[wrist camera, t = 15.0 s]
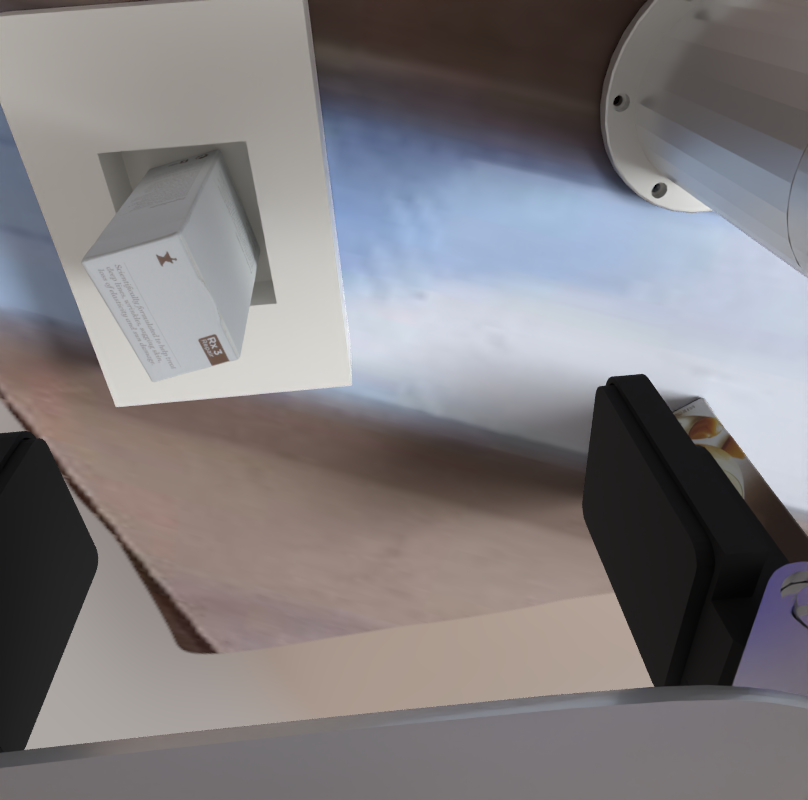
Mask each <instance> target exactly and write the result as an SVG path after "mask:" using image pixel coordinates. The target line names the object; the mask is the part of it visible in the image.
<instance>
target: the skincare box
mask: <svg viewBox="0 0 808 800" xmlns="http://www.w3.org/2000/svg"><path fill="white" fill-rule="evenodd" d="M259 255H260V247H259V245H258V242H257V240H256V237H255V235H254V232H253V230H252V227H251V225H250V222H249V220H248V217H247V215H246V212H245V210H244V207H243V205H242V202H241V200H240V197H239V195H238V192H237V190H236V187H235V185H234V182H233V180H232V177H231V175H230V172H229V170H228V167H227V165H226V162H225V160H224V157H223V155H222V153H221V151H220V150H213V151H210V152H206V153H203V154H199V155H195V156H192V157H189V158H185V159H182V160H178V161H175V162H171V163H168V164H165V165H161V166H158V167H155V168H152V169H149V170H148V172H147V173H146V175H145V176H144V177H143V179H142V180H141V181H140V183H139V184H138V185H137V186H136V188H135V189H134V191H133V192H132V193H131V195H130V196H129V197H128V198H127V200H126V201H125V202H124V204H123V205H122V207H121V208H120V209H119V211H118V212H117V213H116V215H115V216H114V217H113V219H112V220H111V221H110V223H109V224H108V225H107V227H106V228H105V229H104V231H103V232H102V233H101V235H100V236H99V237H98V239H97V240H96V242H95V243H94V245H93V246H92V247H91V248H90V249H89V251H88V252H87V253H86V255H85V256H84V257H83V259H82V261H81V264H82V265H83V267H84V269H85V270H86V272H87V274H88V275H89V277H90V279H91V280H92V282H93V283H94V285H95V287H96V288H97V290H98V292H99V293H100V295H101V297H102V298H103V300H104V302H105V303H106V305H107V307H108V308H109V310H110V312H111V313H112V315H113V317H114V318H115V320H116V322H117V323H118V325H119V327H120V328H121V330H122V332H123V333H124V335H125V337H126V338H127V340H128V342H129V343H130V345H131V347H132V348H133V350H134V352H135V354H136V355H137V357H138V359H139V360H140V362H141V364H142V365H143V367H144V369H145V370H146V372H147V374H148V375H149V377H150V379H151V381H152V382H157V381H161V380H164V379H168V378H171V377H175V376H178V375H182V374H185V373H189V372H193V371H197V370H200V369H204V368H208V367H211V366H215V365H219V364H223V363H226V362H230V361H234V360H238V359H239V358H240V355H241V350H242V344H243V339H244V334H245V328H246V324H247V318H248V313H249V307H250V302H251V297H252V292H253V287H254V281H255V276H256V270H257V266H258V260H259Z"/></svg>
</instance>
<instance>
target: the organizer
mask: <svg viewBox="0 0 808 800" xmlns="http://www.w3.org/2000/svg"><path fill="white" fill-rule="evenodd" d="M0 103H1V106H2V108H3V111H4V114H5V116H6V119H7V122H8V124H9V127H10V129H11V132H12V135H13V137H14V140H15V143H16V145H17V148H18V151H19V153H20V156H21V158H22V161H23V164H24V166H25V169H26V172H27V174H28V177H29V179H30V182H31V185H32V187H33V190H34V193H35V195H36V198H37V201H38V203H39V206H40V208H41V211H42V214H43V216H44V219H45V222H46V224H47V227H48V229H49V232H50V235H51V237H52V240H53V243H54V245H55V248H56V250H57V253H58V256H59V258H60V261H61V264H62V266H63V269H64V272H65V274H66V277H67V279H68V282H69V285H70V287H71V290H72V293H73V295H74V298H75V300H76V303H77V306H78V308H79V311H80V314H81V316H82V319H83V322H84V324H85V327H86V329H87V332H88V335H89V337H90V340H91V343H92V345H93V348H94V350H95V353H96V356H97V358H98V361H99V364H100V366H101V369H102V371H103V374H104V377H105V379H106V382H107V385H108V387H109V390H110V393H111V395H112V398H113V400H114V403H115V406H116V407H123V406H134V405H145V404H156V403H166V402H177V401H188V400H199V399H210V398H221V397H232V396H243V395H253V394H264V393H275V392H286V391H297V390H308V389H319V388H330V387H340V386H351V385H352V352H351V344H350V336H349V327H348V319H347V311H346V303H345V295H344V287H343V279H342V271H341V263H340V255H339V247H338V239H337V231H336V223H335V215H334V207H333V199H332V191H331V183H330V175H329V167H328V159H327V151H326V143H325V135H324V127H323V119H322V110H321V102H320V94H319V86H318V78H317V70H316V62H315V54H314V46H313V38H312V30H311V22H310V14H309V6H308V0H150V1H137V2H124V3H111V4H98V5H85V6H72V7H59V8H46V9H33V10H20V11H8V12H3V13H0ZM213 150H220V151H221V153H222V155H223V157H224V160H225V162H226V165H227V167H228V170H229V172H230V175H231V177H232V180H233V182H234V185H235V187H236V190H237V192H238V195H239V197H240V200H241V202H242V205H243V207H244V210H245V212H246V215H247V217H248V220H249V222H250V225H251V227H252V230H253V232H254V235H255V237H256V240H257V242H258V245H259V247H260V255H259V260H258V266H257V270H256V276H255V281H254V287H253V292H252V297H251V302H250V307H249V313H248V318H247V324H246V328H245V334H244V339H243V344H242V350H241V355H240V358H239V359H238V360H234V361H230V362H226V363H223V364H219V365H215V366H211V367H208V368H204V369H200V370H197V371H193V372H189V373H185V374H182V375H178V376H175V377H171V378H168V379H164V380H161V381H157V382H152V381H151V379H150V377H149V375H148V374H147V372H146V370H145V369H144V367H143V365H142V364H141V362H140V360H139V359H138V357H137V355H136V354H135V352H134V350H133V348H132V347H131V345H130V343H129V342H128V340H127V338H126V337H125V335H124V333H123V332H122V330H121V328H120V327H119V325H118V323H117V322H116V320H115V318H114V317H113V315H112V313H111V312H110V310H109V308H108V307H107V305H106V303H105V302H104V300H103V298H102V297H101V295H100V293H99V292H98V290H97V288H96V287H95V285H94V283H93V282H92V280H91V279H90V277H89V275H88V274H87V272H86V270H85V269H84V267H83V265H82V264H81V261H82V259H83V257H84V256H85V255H86V253H87V252H88V251H89V249H90V248H91V247H92V246H93V245H94V243H95V242H96V240H97V239H98V237H99V236H100V235H101V233H102V232H103V231H104V229H105V228H106V227H107V225H108V224H109V223H110V221H111V220H112V219H113V217H114V216H115V215H116V213H117V212H118V211H119V209H120V208H121V207H122V205H123V204H124V202H125V201H126V200H127V198H128V197H129V196H130V195H131V193H132V192H133V191H134V189H135V188H136V186H137V185H138V184H139V183H140V181H141V180H142V179H143V177H144V176H145V175H146V173H147V172H148V170H149V169H152V168H155V167H158V166H161V165H165V164H168V163H171V162H175V161H178V160H182V159H185V158H189V157H192V156H195V155H199V154H203V153H206V152H210V151H213Z"/></svg>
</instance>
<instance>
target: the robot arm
mask: <svg viewBox="0 0 808 800" xmlns="http://www.w3.org/2000/svg"><path fill="white" fill-rule="evenodd" d="M618 95H619V96H620V100H619V102H618V103H617V104H615V105H613V102H614V99H615V98H616V97H617V96H618ZM600 117H601V133H602V137H603V141H604V146H605V150H606V153H607V155H608V157H609V159H610V161H611V163H612V166H613V168H614V170H615V171H616V172H617V174H618V175H619V176H620V177H621V179H622V180H623V181H624V183H625V184H626V185H627V186H628V187H630V188H631V189H632V190H633V191H634V192H635V193H636V194H637V195H639V196H640V197H642V198H643V199H645V200H646V201H648V202H649V203H651V204H653V205H656V206H659V207H662V208H665V209H667V210H670V211H676V212H686V213H699V212H710V211H714V212H716V213H717V214H718V215H720V216H721V217H723V218H724V219H725V220H727V221H728V222H730V223H731V224H732V225H734V226H735V227H737V228H738V229H739V230H741V231H742V232H744V233H745V234H746V235H748V236H749V237H751V238H752V239H753V240H755V241H756V242H758V243H759V244H760V245H762V246H763V247H765V248H766V249H767V250H769V251H770V252H772V253H773V254H774V255H776V256H777V257H779V258H780V259H781V260H783V261H784V262H786V263H787V264H788V265H790V266H791V267H793V268H794V269H795V270H797V271H798V272H800V273H801V274H802V275H804V276H805V277H807V278H808V0H648V1H647V2H646V3H645V4H644V5H643V6H642V7H641V8H640V9H639V11H638V12H637V14H636V15H635V17H634V18H633V19H632V21H631V22H630V24H629V25H628V27H627V28H626V30H625V31H624V33H623V35H622V37H621V39H620V41H619V43H618V45H617V47H616V49H615V51H614V53H613V55H612V57H611V60H610V64H609V67H608V70H607V73H606V76H605V80H604V84H603V91H602V98H601V105H600ZM656 184H657V187H656V188H655V189H653V187H654V186H655V185H656ZM652 189H653V190H652ZM582 508H583V515H584V519H585V522H586V525H587V527H588V530H589V532H590V534H591V537H592V539H593V542H594V544H595V546H596V549H597V551H598V554H599V556H600V558H601V561H602V563H603V566H604V568H605V570H606V573H607V575H608V578H609V580H610V582H611V585H612V587H613V590H614V592H615V594H616V597H617V599H618V602H619V604H620V606H621V609H622V611H623V613H624V616H625V618H626V621H627V623H628V625H629V628H630V630H631V633H632V635H633V637H634V640H635V642H636V645H637V647H638V649H639V652H640V654H641V657H642V659H643V661H644V664H645V666H646V669H647V671H648V673H649V676H650V678H651V681H652V683H653V684H654V687H647V688H634V689H622V690H610V691H597V692H586V693H573V694H561V695H549V696H539V697H528V698H519V699H508V700H498V701H488V702H478V703H468V704H458V705H447V706H437V707H427V708H417V709H407V710H397V711H388V712H378V713H367V714H358V715H349V716H338V717H329V718H319V719H309V720H300V721H291V722H281V723H271V724H261V725H252V726H242V727H233V728H223V729H214V730H205V731H195V732H186V733H177V734H167V735H158V736H149V737H139V738H130V739H121V740H113V741H103V742H94V743H85V744H76V745H66V746H58V747H49V748H40V749H30V750H24V749H25V747H26V745H27V742H28V740H29V737H30V735H31V732H32V730H33V727H34V725H35V722H36V719H37V717H38V714H39V712H40V710H41V707H42V705H43V702H44V700H45V697H46V695H47V692H48V690H49V687H50V685H51V682H52V680H53V677H54V675H55V672H56V670H57V668H58V665H59V662H60V660H61V657H62V655H63V652H64V650H65V648H66V645H67V643H68V640H69V637H70V635H71V633H72V630H73V628H74V625H75V622H76V620H77V617H78V615H79V613H80V610H81V608H82V605H83V603H84V600H85V598H86V595H87V593H88V590H89V587H90V585H91V583H92V580H93V578H94V575H95V573H96V570H97V566H98V553H97V549H96V547H95V545H94V542H93V540H92V538H91V536H90V534H89V532H88V530H87V528H86V525H85V523H84V521H83V519H82V517H81V515H80V513H79V511H78V508H77V506H76V504H75V502H74V500H73V498H72V496H71V494H70V491H69V489H68V487H67V485H66V483H65V481H64V479H63V477H62V475H61V472H60V470H59V468H58V466H57V464H56V462H55V460H54V458H53V455H52V453H51V451H50V449H49V447H48V445H47V443H46V442H45V441H44V440H43V439H40V438H38V439H36V437H35V436H34V435H33V434H32V433H31V432H28V431H21V432H10V433H0V800H808V562H796V563H791V564H790V562H789V561H788V560H787V558H786V557H785V555H784V554H783V553H782V551H781V550H780V549H779V547H778V546H777V544H776V543H775V542H774V540H773V539H772V537H771V536H770V535H769V533H768V532H767V531H766V529H765V528H764V526H763V525H762V524H761V522H760V521H759V520H758V518H757V517H756V515H755V514H754V513H753V511H752V510H751V508H750V507H749V506H748V504H747V503H746V502H745V500H744V499H743V497H742V496H741V495H740V493H739V492H738V490H737V489H736V488H735V486H734V485H733V484H732V482H731V481H730V479H729V478H728V477H727V475H726V474H725V472H724V471H723V470H722V468H721V467H720V466H719V464H718V463H717V461H716V460H715V459H714V457H713V456H712V455H711V453H710V452H709V451H708V450H707V449H706V448H705V447H703V446H701V445H695V444H694V442H693V441H692V440H691V438H690V437H689V435H688V434H687V433H686V431H685V430H684V428H683V427H682V425H681V424H680V423H679V421H678V420H677V418H676V417H675V415H674V414H673V413H672V411H671V410H670V408H669V407H668V406H667V404H666V403H665V401H664V400H663V398H662V397H661V396H660V394H659V393H658V391H657V390H656V389H655V387H654V386H653V384H652V383H651V381H650V380H649V379H648V377H647V376H646V375H644V374H637V375H626V376H615V377H610V378H609V379H608V381H607V383H606V386H599V387H598V388H597V391H596V396H595V404H594V412H593V420H592V428H591V436H590V444H589V452H588V460H587V468H586V476H585V484H584V492H583V501H582Z"/></svg>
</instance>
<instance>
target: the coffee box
mask: <svg viewBox="0 0 808 800" xmlns="http://www.w3.org/2000/svg"><path fill="white" fill-rule="evenodd" d="M673 414H674V415H675V417H676V418H677V420H678V421H679V423H680V424H681V425H682V427H683V428H684V430H685V431H686V433H687V434H688V435H689V437H690V438H691V440H692V441H693V442H694V444H695V445H701V446H703V447H705V448H706V449H707V450H708V451H709V452H710V453H711V455H712V456H713V457H714V459H715V460H716V461H717V463H718V464H719V466H720V467H721V468H722V470H723V471H724V472H725V474H726V475H727V477H728V478H729V479H730V481H731V482H732V484H733V485H734V486H735V488H736V489H737V490H738V492H739V493H740V495H741V496H742V497H743V499H744V500H745V502H746V503H747V504H748V506H749V507H750V508H751V510H752V511H753V513H754V514H755V515H756V517H757V518H758V520H759V521H760V522H761V524H762V525H763V526H764V528H765V529H766V531H767V532H768V533H769V535H770V536H771V537H772V539H773V540H774V542H775V543H776V544H777V546H778V547H779V549H780V550H781V551H782V553H783V554H784V555H785V557H786V558H787V560H788V561H789V562H790V564H791V563H796V562H808V536H807V535H806V534H805V532H804V531H803V530H802V528H801V527H800V526H799V524H798V523H797V522H796V521H795V519H794V518H793V517H792V515H791V514H790V513H789V511H788V510H787V509H786V508H785V506H784V505H783V504H782V502H781V501H780V500H779V498H778V497H777V496H776V495H775V493H774V492H773V491H772V489H771V488H770V487H769V485H768V484H767V483H766V481H765V480H764V479H763V477H762V476H761V475H760V473H759V472H758V471H757V469H756V468H755V467H754V465H753V464H752V463H751V461H750V460H749V459H748V457H747V456H746V455H745V453H744V452H743V451H742V449H741V448H740V447H739V446H738V444H737V443H736V442H735V440H734V439H733V438H732V436H731V435H730V434H729V433H728V431H727V430H726V429H725V428H724V426H723V425H722V424H721V422H720V421H719V420H718V418H717V417H716V415H715V414H714V412H713V410H712V409H711V407H710V406H709V404H708V403H707V401H706V400H705V399H704V398H700V399H698V400H696V401H694V402H692V403H690V404H688V405H686V406H685V407H683V408H681V409H679V410H677V411H675V412H673Z"/></svg>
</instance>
